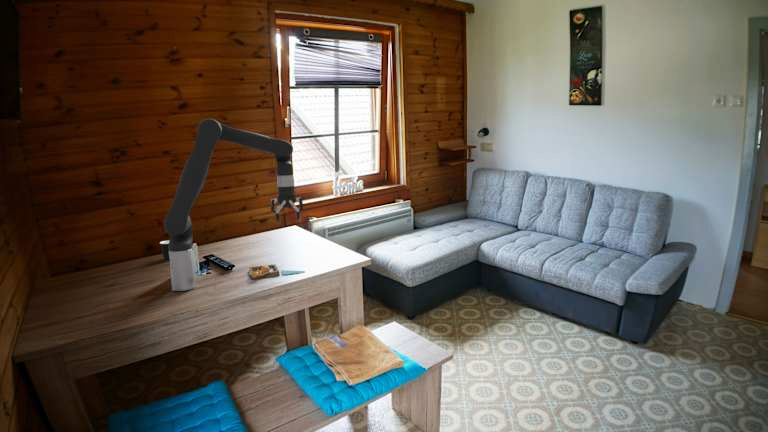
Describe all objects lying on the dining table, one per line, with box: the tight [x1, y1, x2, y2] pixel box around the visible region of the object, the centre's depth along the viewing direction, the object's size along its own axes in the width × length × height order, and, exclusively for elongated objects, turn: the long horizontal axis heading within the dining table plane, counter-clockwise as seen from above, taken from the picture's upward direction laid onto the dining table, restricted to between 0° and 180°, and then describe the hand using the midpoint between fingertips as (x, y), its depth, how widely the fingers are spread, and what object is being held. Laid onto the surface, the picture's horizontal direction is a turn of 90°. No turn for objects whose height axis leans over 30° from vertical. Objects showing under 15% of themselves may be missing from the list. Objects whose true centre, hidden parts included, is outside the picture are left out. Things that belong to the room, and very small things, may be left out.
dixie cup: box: [159, 239, 170, 262], centre depth 229 cm, size 8×8×11 cm
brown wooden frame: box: [248, 264, 280, 280], centre depth 202 cm, size 12×14×2 cm
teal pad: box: [280, 269, 305, 277], centre depth 205 cm, size 10×10×1 cm
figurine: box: [249, 265, 271, 277], centre depth 196 cm, size 8×6×12 cm
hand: (287, 220), depth 201 cm, fingers open, 8 cm apart
